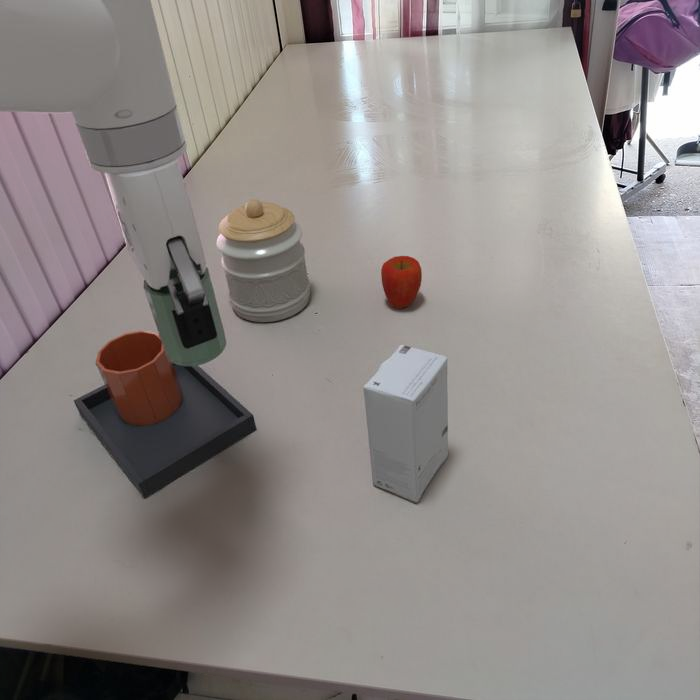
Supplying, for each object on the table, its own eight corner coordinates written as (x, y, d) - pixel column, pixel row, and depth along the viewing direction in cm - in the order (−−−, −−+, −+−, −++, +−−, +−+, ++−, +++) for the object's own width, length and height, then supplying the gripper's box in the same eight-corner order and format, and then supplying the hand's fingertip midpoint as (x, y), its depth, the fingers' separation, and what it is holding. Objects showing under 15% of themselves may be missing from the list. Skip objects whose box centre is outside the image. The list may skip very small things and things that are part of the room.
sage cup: (184, 375, 59) (161, 303, 54) (156, 347, 63) (132, 278, 58) (237, 347, 61) (220, 277, 56) (207, 322, 65) (189, 254, 60)
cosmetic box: (417, 505, 69) (414, 405, 60) (369, 485, 72) (359, 386, 63) (449, 453, 74) (451, 355, 65) (404, 436, 77) (399, 339, 68)
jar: (323, 309, 100) (309, 206, 89) (243, 333, 97) (219, 229, 86) (296, 272, 110) (281, 174, 99) (223, 292, 106) (199, 194, 95)
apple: (419, 315, 97) (419, 273, 92) (379, 313, 98) (377, 271, 93) (424, 292, 101) (423, 251, 97) (386, 291, 103) (384, 250, 98)
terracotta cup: (135, 435, 80) (113, 382, 75) (108, 403, 86) (85, 351, 80) (193, 403, 84) (176, 350, 79) (164, 374, 89) (146, 323, 84)
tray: (144, 498, 73) (138, 484, 71) (80, 414, 85) (73, 400, 84) (256, 429, 80) (253, 414, 79) (182, 361, 93) (178, 347, 91)
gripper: (65, 120, 54) (128, 296, 65) (109, 185, 42) (178, 389, 53) (151, 100, 56) (197, 273, 68) (217, 156, 44) (260, 356, 55)
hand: (188, 322), depth 60 cm, fingers closed on sage cup, 5 cm apart
